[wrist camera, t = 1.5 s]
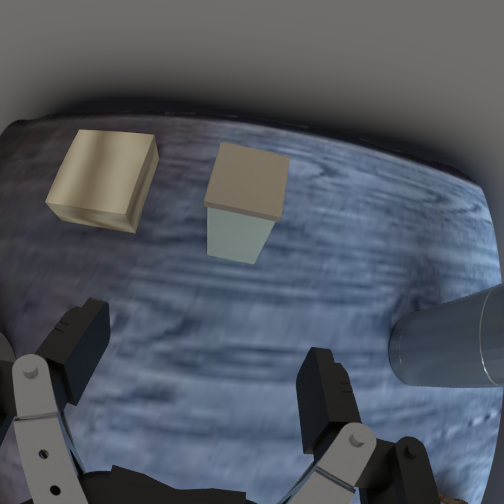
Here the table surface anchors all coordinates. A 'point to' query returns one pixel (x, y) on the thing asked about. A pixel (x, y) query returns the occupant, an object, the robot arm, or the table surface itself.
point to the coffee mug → (6, 350)
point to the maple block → (105, 179)
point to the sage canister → (244, 201)
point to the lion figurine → (450, 500)
